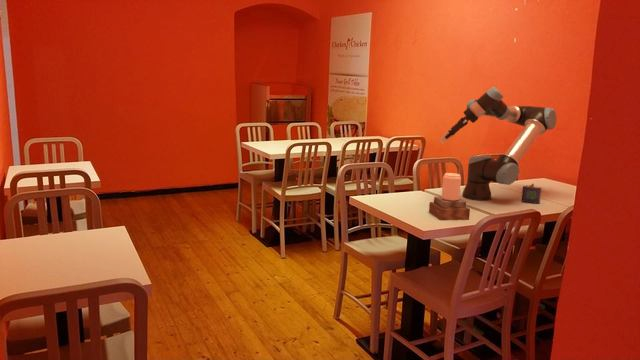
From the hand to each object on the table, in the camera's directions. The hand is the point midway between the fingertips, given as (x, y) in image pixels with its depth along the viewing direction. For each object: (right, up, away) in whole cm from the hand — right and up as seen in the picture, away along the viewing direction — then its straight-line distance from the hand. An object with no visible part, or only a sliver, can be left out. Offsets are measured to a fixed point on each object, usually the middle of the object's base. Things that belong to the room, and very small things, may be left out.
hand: (441, 140), depth 269 cm
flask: (+50, -33, +11) cm, 61 cm away
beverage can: (-1, -30, -22) cm, 37 cm away
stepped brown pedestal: (-1, -37, -20) cm, 42 cm away
